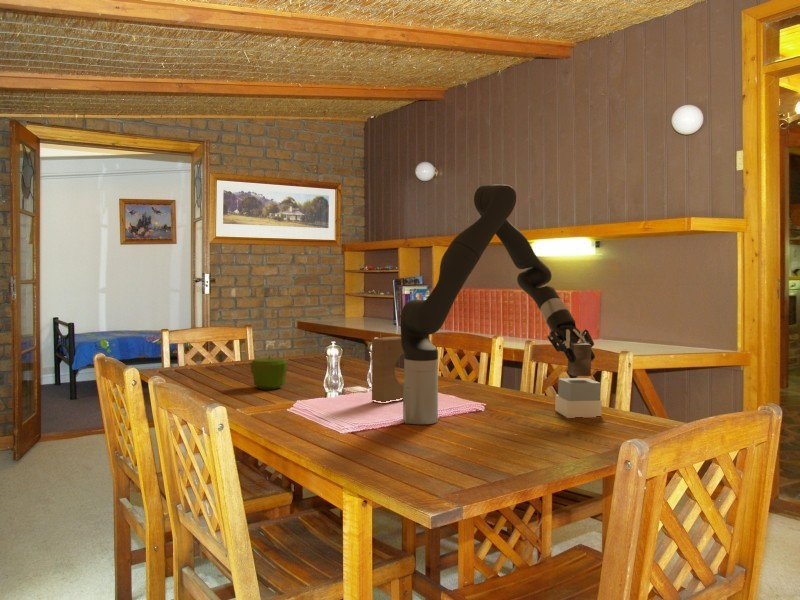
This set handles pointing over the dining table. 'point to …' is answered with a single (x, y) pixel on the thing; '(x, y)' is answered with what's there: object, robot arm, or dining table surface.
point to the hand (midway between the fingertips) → (583, 360)
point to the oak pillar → (580, 360)
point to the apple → (269, 372)
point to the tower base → (577, 408)
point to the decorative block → (386, 369)
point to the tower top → (579, 389)
